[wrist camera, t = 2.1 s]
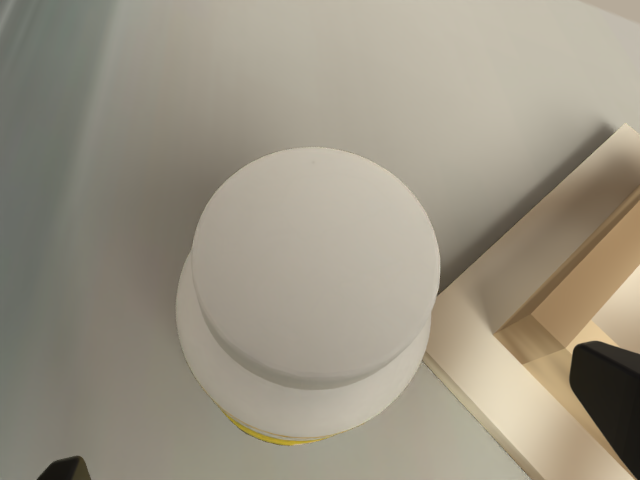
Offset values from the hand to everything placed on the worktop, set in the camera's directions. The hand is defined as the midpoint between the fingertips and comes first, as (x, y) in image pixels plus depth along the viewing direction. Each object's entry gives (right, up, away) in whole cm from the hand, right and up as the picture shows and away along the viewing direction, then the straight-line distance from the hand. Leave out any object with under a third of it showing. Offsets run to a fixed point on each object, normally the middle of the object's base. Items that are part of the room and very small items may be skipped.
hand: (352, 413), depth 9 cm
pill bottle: (-2, -2, +10) cm, 11 cm away
